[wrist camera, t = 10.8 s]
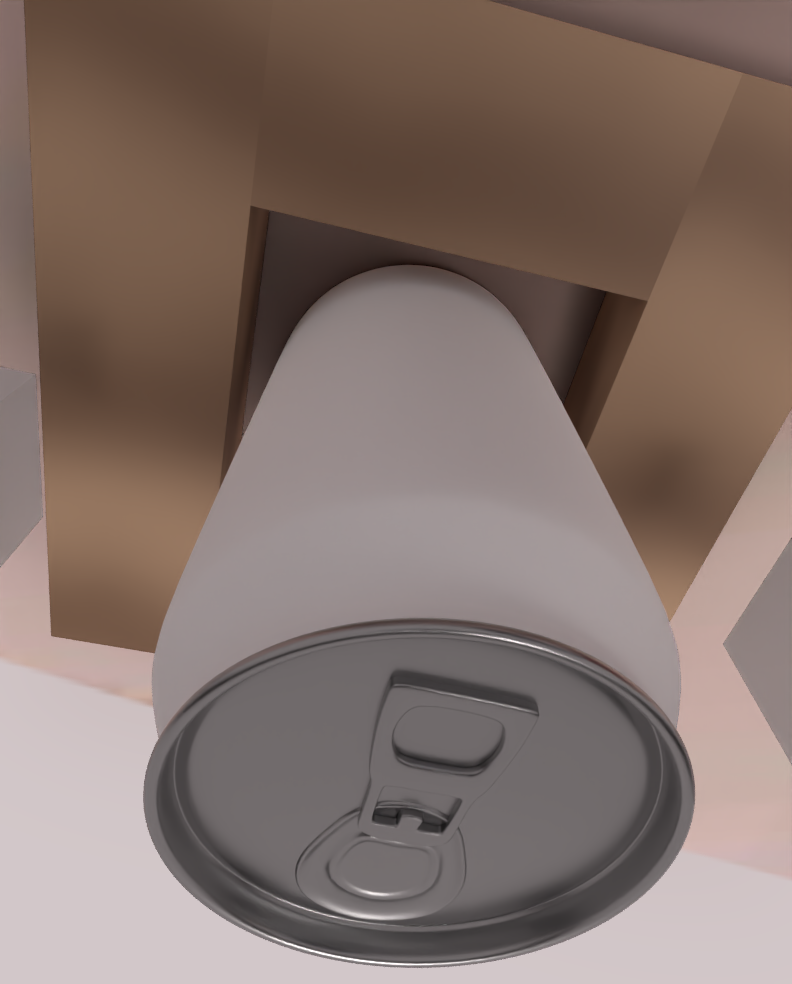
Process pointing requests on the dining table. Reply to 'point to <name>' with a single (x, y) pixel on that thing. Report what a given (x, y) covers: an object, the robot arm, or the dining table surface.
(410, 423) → the can
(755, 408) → the frame
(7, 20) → the dining table surface
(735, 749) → the dining table surface
